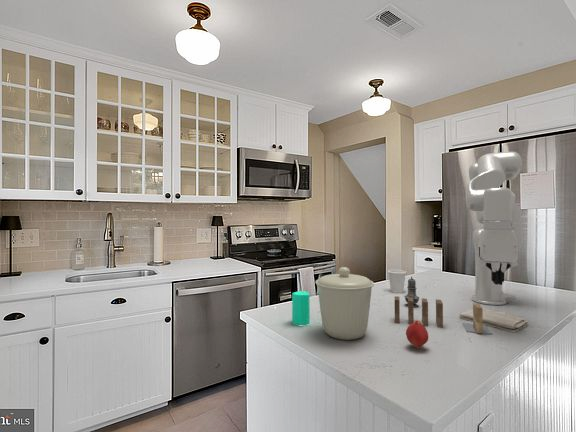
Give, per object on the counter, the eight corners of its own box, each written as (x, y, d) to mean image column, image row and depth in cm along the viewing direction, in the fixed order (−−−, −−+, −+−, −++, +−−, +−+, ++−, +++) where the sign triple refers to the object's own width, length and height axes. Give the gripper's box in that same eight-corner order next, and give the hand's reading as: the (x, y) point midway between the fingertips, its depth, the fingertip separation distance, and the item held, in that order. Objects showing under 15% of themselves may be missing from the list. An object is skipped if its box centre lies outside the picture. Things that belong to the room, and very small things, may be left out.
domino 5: (478, 327, 102) (478, 303, 102) (482, 333, 97) (482, 307, 97) (473, 327, 103) (473, 303, 103) (476, 332, 98) (476, 307, 98)
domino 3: (426, 321, 110) (426, 298, 110) (428, 326, 105) (427, 302, 105) (421, 321, 110) (421, 298, 110) (422, 325, 106) (422, 302, 106)
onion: (402, 344, 91) (402, 316, 91) (421, 343, 91) (421, 315, 91) (412, 352, 85) (411, 323, 85) (432, 351, 85) (432, 322, 85)
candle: (297, 327, 105) (297, 291, 105) (289, 322, 110) (289, 287, 110) (312, 324, 108) (312, 289, 108) (304, 319, 113) (303, 286, 113)
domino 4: (441, 322, 108) (441, 299, 108) (443, 327, 103) (442, 303, 103) (436, 322, 109) (435, 299, 109) (437, 327, 104) (437, 303, 104)
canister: (308, 340, 94) (307, 270, 94) (324, 321, 111) (323, 261, 111) (370, 349, 87) (369, 274, 87) (377, 327, 104) (376, 264, 104)
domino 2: (413, 320, 111) (412, 297, 111) (413, 324, 107) (413, 301, 106) (408, 319, 112) (408, 297, 112) (408, 324, 107) (408, 300, 107)
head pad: (485, 325, 105) (485, 324, 105) (492, 334, 97) (492, 333, 97) (462, 323, 107) (462, 322, 107) (466, 331, 100) (466, 330, 100)
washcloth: (517, 334, 98) (517, 325, 98) (457, 319, 113) (457, 311, 113) (529, 326, 105) (529, 317, 105) (472, 313, 120) (472, 305, 120)
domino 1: (399, 318, 113) (399, 296, 113) (399, 323, 108) (399, 300, 108) (394, 318, 113) (394, 296, 113) (394, 322, 109) (394, 299, 109)
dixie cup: (393, 288, 158) (393, 268, 158) (409, 291, 152) (409, 271, 152) (384, 291, 152) (384, 271, 152) (400, 294, 146) (400, 273, 146)
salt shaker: (421, 308, 125) (420, 278, 125) (405, 307, 126) (405, 277, 126) (418, 304, 131) (417, 275, 131) (403, 303, 132) (403, 275, 132)
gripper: (521, 226, 101) (521, 283, 101) (468, 226, 106) (468, 280, 106) (530, 227, 94) (530, 288, 94) (473, 226, 99) (473, 284, 99)
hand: (497, 283), depth 100 cm, fingers closed
